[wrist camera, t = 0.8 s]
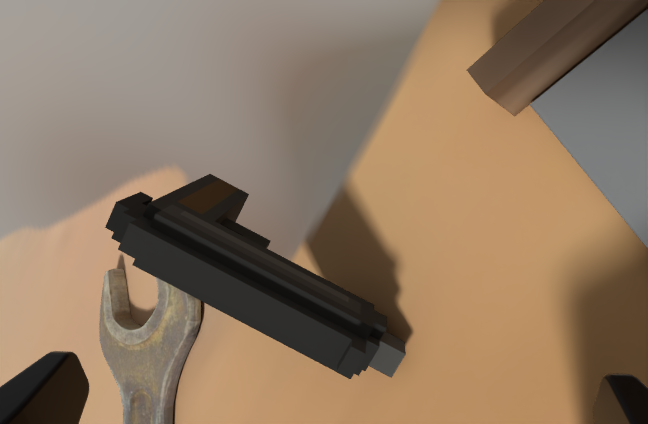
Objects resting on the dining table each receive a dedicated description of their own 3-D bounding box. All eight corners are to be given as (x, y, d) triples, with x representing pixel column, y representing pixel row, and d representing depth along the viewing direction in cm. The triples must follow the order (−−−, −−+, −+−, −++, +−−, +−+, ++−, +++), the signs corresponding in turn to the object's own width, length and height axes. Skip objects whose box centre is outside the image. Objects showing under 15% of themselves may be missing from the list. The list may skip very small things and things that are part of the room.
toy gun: (191, 162, 30) (100, 195, 20) (403, 276, 30) (416, 363, 20) (173, 201, 30) (76, 251, 21) (381, 312, 31) (383, 415, 21)
